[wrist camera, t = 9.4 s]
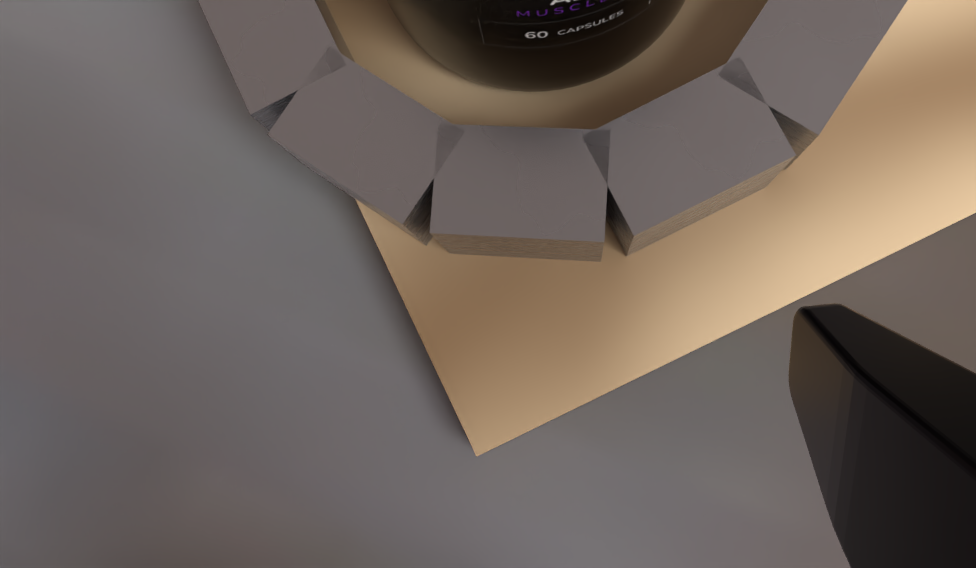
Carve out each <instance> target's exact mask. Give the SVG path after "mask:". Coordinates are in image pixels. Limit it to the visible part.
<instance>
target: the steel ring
mask: <svg viewBox="0 0 976 568" xmlns="http://www.w3.org/2000/svg"><path fill="white" fill-rule="evenodd" d="M907 1H908V0H768V1H767V3H766V4H765V6H764V7H763V9H762V10H761V12H760V13H759V15H758V16H757V18H756V19H755V21H754V22H753V24H752V25H751V27H750V28H749V30H748V31H747V33H746V34H745V36H744V37H743V39H742V40H741V42H740V43H739V45H738V46H737V48H736V49H735V51H734V52H733V54H732V55H731V57H730V58H729V60H728V61H727V63H726V64H724V65H722V66H720V67H718V68H716V69H714V70H712V71H710V72H708V73H706V74H704V75H702V76H700V77H698V78H696V79H694V80H692V81H690V82H688V83H686V84H684V85H682V86H680V87H678V88H676V89H674V90H672V91H670V92H668V93H667V94H665V95H663V96H661V97H659V98H657V99H655V100H653V101H651V102H649V103H647V104H645V105H643V106H641V107H639V108H637V109H635V110H633V111H631V112H629V113H627V114H625V115H623V116H621V117H619V118H617V119H615V120H613V121H611V122H609V123H607V124H605V125H603V126H601V127H599V128H597V129H569V128H542V127H514V126H487V125H459V124H452V123H450V122H448V121H447V120H445V119H444V118H442V117H441V116H439V115H437V114H436V113H434V112H433V111H431V110H429V109H428V108H426V107H425V106H423V105H422V104H420V103H418V102H417V101H415V100H414V99H412V98H410V97H409V96H407V95H406V94H404V93H403V92H401V91H399V90H398V89H396V88H395V87H393V86H391V85H390V84H388V83H387V82H385V81H384V80H382V79H380V78H379V77H377V76H376V75H374V74H372V73H371V72H369V71H368V70H366V69H365V68H363V67H361V66H360V65H358V64H357V63H355V61H354V59H353V57H352V55H351V53H350V51H349V49H348V47H347V45H346V43H345V41H344V39H343V37H342V34H341V32H340V30H339V28H338V26H337V24H336V22H335V20H334V18H333V16H332V14H331V12H330V10H329V8H328V6H327V4H326V2H325V0H198V2H199V4H200V6H201V8H202V10H203V13H204V15H205V17H206V19H207V21H208V24H209V26H210V28H211V30H212V32H213V35H214V37H215V39H216V41H217V43H218V45H219V48H220V50H221V52H222V54H223V56H224V59H225V61H226V63H227V65H228V67H229V69H230V72H231V74H232V76H233V78H234V80H235V83H236V85H237V87H238V89H239V91H240V94H241V96H242V98H243V100H244V102H245V104H246V107H247V109H248V111H249V113H250V115H251V116H252V117H254V118H255V119H256V120H257V121H258V122H260V123H261V124H262V125H263V126H265V127H266V128H267V129H268V130H269V131H270V132H269V133H268V134H267V135H268V136H269V137H271V138H272V139H273V140H274V141H276V142H277V143H278V144H279V145H281V146H282V147H283V148H284V149H286V150H287V151H288V152H289V153H291V154H292V155H293V156H294V157H296V158H297V159H298V160H299V161H301V162H302V163H303V164H304V165H306V166H307V167H308V168H310V169H311V170H313V171H314V172H316V173H317V174H319V175H320V176H322V177H323V178H325V179H326V180H328V181H329V182H331V183H332V184H334V185H335V186H337V187H338V188H340V189H341V190H343V191H344V192H346V193H347V194H349V195H350V196H352V197H353V198H355V199H356V200H358V201H359V202H361V203H362V204H364V205H365V206H367V207H368V208H370V209H371V210H373V211H374V212H376V213H377V214H379V215H380V216H382V217H383V218H385V219H387V220H388V221H390V222H391V223H393V224H394V225H396V226H397V227H399V228H400V229H402V230H403V231H405V232H406V233H408V234H409V235H411V236H412V237H414V238H415V239H417V240H418V241H420V242H421V243H423V244H424V245H426V246H427V245H428V243H429V242H430V240H431V239H432V237H434V238H435V239H436V240H437V241H438V242H439V243H440V244H441V245H442V246H443V247H444V248H445V249H446V250H447V251H448V252H449V253H450V254H463V255H482V256H500V257H519V258H537V259H556V260H574V261H592V262H601V259H602V253H603V247H604V239H605V221H606V218H607V220H608V222H609V224H610V226H611V228H612V230H613V232H614V234H615V236H616V238H617V239H618V241H619V243H620V245H621V247H622V249H623V251H624V253H625V255H626V257H627V256H629V255H631V254H633V253H635V252H637V251H639V250H641V249H643V248H645V247H647V246H649V245H651V244H653V243H655V242H657V241H659V240H661V239H663V238H665V237H667V236H669V235H671V234H673V233H675V232H677V231H679V230H681V229H683V228H685V227H687V226H689V225H691V224H693V223H695V222H697V221H699V220H701V219H703V218H705V217H707V216H709V215H712V214H714V213H716V212H718V211H720V210H722V209H724V208H726V207H728V206H730V205H732V204H734V203H736V202H738V201H740V200H742V199H744V198H746V197H748V196H750V195H752V194H754V193H756V192H758V191H760V190H762V189H764V188H766V187H767V186H768V185H769V184H770V183H771V181H772V180H773V179H774V178H775V177H776V176H777V175H778V174H779V173H780V172H781V171H782V170H783V169H784V170H786V169H787V168H788V167H789V166H790V165H791V164H792V163H793V162H794V161H795V160H796V159H797V158H798V157H799V156H800V155H801V153H802V152H803V151H804V150H805V149H806V148H807V147H808V146H809V145H810V144H811V143H812V142H813V141H814V140H815V139H816V138H817V137H818V136H819V134H820V133H821V131H822V130H823V128H824V127H825V125H826V124H827V122H828V121H829V119H830V118H831V116H832V115H833V113H834V112H835V110H836V108H837V107H838V105H839V104H840V102H841V101H842V99H843V98H844V96H845V95H846V93H847V92H848V90H849V89H850V87H851V86H852V84H853V83H854V81H855V80H856V78H857V77H858V75H859V74H860V72H861V70H862V69H863V67H864V66H865V64H866V63H867V61H868V60H869V58H870V57H871V55H872V54H873V52H874V51H875V49H876V48H877V46H878V45H879V43H880V42H881V40H882V39H883V37H884V36H885V34H886V33H887V31H888V29H889V28H890V26H891V25H892V23H893V22H894V20H895V19H896V17H897V16H898V14H899V13H900V11H901V10H902V8H903V7H904V5H905V4H906V2H907Z"/></svg>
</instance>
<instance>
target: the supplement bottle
mask: <svg viewBox="0 0 976 568" xmlns="http://www.w3.org/2000/svg"><path fill="white" fill-rule="evenodd" d="M387 2H388V4H389V6H390V8H391V9H392V11H393V13H394V15H395V16H396V18H397V19H398V21H399V22H400V24H401V25H402V27H403V28H404V29H405V31H406V32H407V33H408V34H409V36H410V37H411V38H412V39H413V40H414V42H415V43H416V44H417V45H418V46H419V47H420V48H422V49H423V50H424V51H425V52H426V53H427V54H428V55H429V56H431V57H432V58H433V59H435V60H436V61H437V62H438V63H440V64H442V65H443V66H445V67H446V68H448V69H450V70H451V71H453V72H455V73H457V74H459V75H461V76H463V77H465V78H467V79H470V80H472V81H475V82H478V83H480V84H484V85H487V86H491V87H495V88H499V89H505V90H511V91H523V92H545V91H553V90H561V89H566V88H571V87H575V86H579V85H582V84H585V83H588V82H592V81H594V80H596V79H599V78H601V77H604V76H606V75H608V74H610V73H612V72H614V71H616V70H617V69H619V68H621V67H623V66H624V65H626V64H627V63H629V62H630V61H632V60H633V59H635V58H636V57H637V56H639V55H640V54H641V53H642V52H644V51H645V50H646V49H647V48H649V47H650V46H651V45H652V44H653V43H654V42H655V41H656V40H657V39H658V38H659V37H660V36H661V35H662V34H663V32H664V31H665V30H666V29H667V28H668V26H669V25H670V24H671V23H672V21H673V20H674V18H675V17H676V15H677V14H678V12H679V11H680V9H681V8H682V6H683V4H684V2H685V0H387Z"/></svg>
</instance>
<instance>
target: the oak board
mask: <svg viewBox="0 0 976 568" xmlns="http://www.w3.org/2000/svg"><path fill="white" fill-rule="evenodd" d="M767 1H768V0H685V2H684V4H683V6H682V8H681V9H680V11H679V12H678V14H677V15H676V17H675V18H674V20H673V21H672V23H671V24H670V25H669V26H668V28H667V29H666V30H665V31H664V32H663V34H662V35H661V36H660V37H659V38H658V39H657V40H656V41H655V42H654V43H653V44H652V45H651V46H650V47H649V48H647V49H646V50H645V51H644V52H642V53H641V54H640V55H639V56H637V57H636V58H635V59H633V60H632V61H630V62H629V63H627V64H626V65H624V66H623V67H621V68H619V69H617V70H616V71H614V72H612V73H610V74H608V75H606V76H604V77H601V78H599V79H596V80H594V81H592V82H588V83H585V84H582V85H579V86H575V87H571V88H566V89H561V90H553V91H545V92H523V91H511V90H505V89H499V88H495V87H491V86H487V85H484V84H480V83H478V82H475V81H472V80H470V79H467V78H465V77H463V76H461V75H459V74H457V73H455V72H453V71H451V70H450V69H448V68H446V67H445V66H443V65H442V64H440V63H438V62H437V61H436V60H435V59H433V58H432V57H431V56H429V55H428V54H427V53H426V52H425V51H424V50H423V49H422V48H420V47H419V46H418V45H417V44H416V43H415V42H414V40H413V39H412V38H411V37H410V36H409V34H408V33H407V32H406V31H405V29H404V28H403V27H402V25H401V24H400V22H399V21H398V19H397V18H396V16H395V15H394V13H393V11H392V9H391V8H390V6H389V4H388V2H387V0H325V2H326V4H327V6H328V8H329V10H330V12H331V14H332V16H333V18H334V20H335V22H336V24H337V26H338V28H339V30H340V32H341V34H342V37H343V39H344V41H345V43H346V45H347V47H348V49H349V51H350V53H351V55H352V57H353V59H354V61H355V63H357V64H358V65H360V66H361V67H363V68H365V69H366V70H368V71H369V72H371V73H372V74H374V75H376V76H377V77H379V78H380V79H382V80H384V81H385V82H387V83H388V84H390V85H391V86H393V87H395V88H396V89H398V90H399V91H401V92H403V93H404V94H406V95H407V96H409V97H410V98H412V99H414V100H415V101H417V102H418V103H420V104H422V105H423V106H425V107H426V108H428V109H429V110H431V111H433V112H434V113H436V114H437V115H439V116H441V117H442V118H444V119H445V120H447V121H448V122H450V123H452V124H459V125H487V126H514V127H542V128H569V129H597V128H599V127H601V126H603V125H605V124H607V123H609V122H611V121H613V120H615V119H617V118H619V117H621V116H623V115H625V114H627V113H629V112H631V111H633V110H635V109H637V108H639V107H641V106H643V105H645V104H647V103H649V102H651V101H653V100H655V99H657V98H659V97H661V96H663V95H665V94H667V93H668V92H670V91H672V90H674V89H676V88H678V87H680V86H682V85H684V84H686V83H688V82H690V81H692V80H694V79H696V78H698V77H700V76H702V75H704V74H706V73H708V72H710V71H712V70H714V69H716V68H718V67H720V66H722V65H724V64H726V63H727V61H728V60H729V58H730V57H731V55H732V54H733V52H734V51H735V49H736V48H737V46H738V45H739V43H740V42H741V40H742V39H743V37H744V36H745V34H746V33H747V31H748V30H749V28H750V27H751V25H752V24H753V22H754V21H755V19H756V18H757V16H758V15H759V13H760V12H761V10H762V9H763V7H764V6H765V4H766V3H767ZM355 200H356V199H355ZM356 202H357V204H358V206H359V208H360V210H361V212H362V214H363V217H364V219H365V221H366V223H367V225H368V227H369V229H370V231H371V234H372V236H373V238H374V240H375V242H376V244H377V246H378V248H379V251H380V253H381V255H382V257H383V259H384V261H385V263H386V265H387V268H388V270H389V272H390V274H391V276H392V278H393V280H394V282H395V285H396V287H397V289H398V291H399V293H400V295H401V297H402V299H403V301H404V304H405V306H406V308H407V310H408V312H409V314H410V316H411V318H412V321H413V323H414V325H415V327H416V329H417V331H418V333H419V335H420V338H421V340H422V342H423V344H424V346H425V348H426V350H427V352H428V355H429V357H430V359H431V361H432V363H433V365H434V367H435V369H436V372H437V374H438V376H439V378H440V380H441V382H442V384H443V386H444V389H445V391H446V393H447V395H448V397H449V399H450V401H451V403H452V405H453V408H454V410H455V412H456V414H457V416H458V418H459V420H460V422H461V425H462V427H463V429H464V431H465V433H466V435H467V437H468V439H469V442H470V444H471V446H472V448H473V450H474V452H475V454H476V456H479V455H481V454H483V453H485V452H487V451H489V450H491V449H493V448H495V447H497V446H499V445H501V444H503V443H505V442H507V441H510V440H512V439H514V438H516V437H518V436H520V435H522V434H524V433H526V432H528V431H530V430H532V429H534V428H536V427H538V426H540V425H542V424H544V423H546V422H548V421H550V420H552V419H555V418H557V417H559V416H561V415H563V414H565V413H567V412H569V411H571V410H573V409H575V408H577V407H579V406H581V405H583V404H585V403H587V402H589V401H591V400H593V399H595V398H597V397H600V396H602V395H604V394H606V393H608V392H610V391H612V390H614V389H616V388H618V387H620V386H622V385H624V384H626V383H628V382H630V381H632V380H634V379H636V378H638V377H640V376H642V375H645V374H647V373H649V372H651V371H653V370H655V369H657V368H659V367H661V366H663V365H665V364H667V363H669V362H671V361H673V360H675V359H677V358H679V357H681V356H683V355H685V354H687V353H689V352H692V351H694V350H696V349H698V348H700V347H702V346H704V345H706V344H708V343H710V342H712V341H714V340H716V339H718V338H720V337H722V336H724V335H726V334H728V333H730V332H732V331H734V330H737V329H739V328H741V327H743V326H745V325H747V324H749V323H751V322H753V321H755V320H757V319H759V318H761V317H763V316H765V315H767V314H769V313H771V312H773V311H775V310H777V309H779V308H782V307H784V306H786V305H788V304H790V303H792V302H794V301H796V300H798V299H800V298H802V297H804V296H806V295H808V294H810V293H812V292H814V291H816V290H818V289H820V288H822V287H824V286H826V285H829V284H831V283H833V282H835V281H837V280H839V279H841V278H843V277H845V276H847V275H849V274H851V273H853V272H855V271H857V270H859V269H861V268H863V267H865V266H867V265H869V264H871V263H874V262H876V261H878V260H880V259H882V258H884V257H886V256H888V255H890V254H892V253H894V252H896V251H898V250H900V249H902V248H904V247H906V246H908V245H910V244H912V243H914V242H916V241H919V240H921V239H923V238H925V237H927V236H929V235H931V234H933V233H935V232H937V231H939V230H941V229H943V228H945V227H947V226H949V225H951V224H953V223H955V222H957V221H959V220H961V219H964V218H966V217H968V216H970V215H972V214H974V213H976V0H908V1H907V2H906V4H905V5H904V7H903V8H902V10H901V11H900V13H899V14H898V16H897V17H896V19H895V20H894V22H893V23H892V25H891V26H890V28H889V29H888V31H887V33H886V34H885V36H884V37H883V39H882V40H881V42H880V43H879V45H878V46H877V48H876V49H875V51H874V52H873V54H872V55H871V57H870V58H869V60H868V61H867V63H866V64H865V66H864V67H863V69H862V70H861V72H860V74H859V75H858V77H857V78H856V80H855V81H854V83H853V84H852V86H851V87H850V89H849V90H848V92H847V93H846V95H845V96H844V98H843V99H842V101H841V102H840V104H839V105H838V107H837V108H836V110H835V112H834V113H833V115H832V116H831V118H830V119H829V121H828V122H827V124H826V125H825V127H824V128H823V130H822V131H821V133H820V134H819V136H818V137H817V138H816V139H815V140H814V141H813V142H812V143H811V144H810V145H809V146H808V147H807V148H806V149H805V150H804V151H803V152H802V153H801V155H800V156H799V157H798V158H797V159H796V160H795V161H794V162H793V163H792V164H791V165H790V166H789V167H788V168H787V169H786V170H784V169H783V170H782V171H781V172H780V173H779V174H778V175H777V176H776V177H775V178H774V179H773V180H772V181H771V183H770V184H769V185H768V186H767V187H766V188H764V189H762V190H760V191H758V192H756V193H754V194H752V195H750V196H748V197H746V198H744V199H742V200H740V201H738V202H736V203H734V204H732V205H730V206H728V207H726V208H724V209H722V210H720V211H718V212H716V213H714V214H712V215H709V216H707V217H705V218H703V219H701V220H699V221H697V222H695V223H693V224H691V225H689V226H687V227H685V228H683V229H681V230H679V231H677V232H675V233H673V234H671V235H669V236H667V237H665V238H663V239H661V240H659V241H657V242H655V243H653V244H651V245H649V246H647V247H645V248H643V249H641V250H639V251H637V252H635V253H633V254H631V255H629V256H627V257H626V255H625V253H624V251H623V249H622V247H621V245H620V243H619V241H618V239H617V238H616V236H615V234H614V232H613V230H612V228H611V226H610V224H609V222H608V220H607V218H606V221H605V239H604V247H603V253H602V259H601V262H592V261H574V260H556V259H537V258H519V257H500V256H482V255H463V254H450V253H449V252H448V251H447V250H446V249H445V248H444V247H443V246H442V245H441V244H440V243H439V242H438V241H437V240H436V239H435V238H434V237H432V239H431V240H430V242H429V243H428V245H427V246H426V245H424V244H423V243H421V242H420V241H418V240H417V239H415V238H414V237H412V236H411V235H409V234H408V233H406V232H405V231H403V230H402V229H400V228H399V227H397V226H396V225H394V224H393V223H391V222H390V221H388V220H387V219H385V218H383V217H382V216H380V215H379V214H377V213H376V212H374V211H373V210H371V209H370V208H368V207H367V206H365V205H364V204H362V203H361V202H359V201H358V200H356Z"/></svg>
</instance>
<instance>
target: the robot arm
mask: <svg viewBox="0 0 976 568" xmlns="http://www.w3.org/2000/svg"><path fill="white" fill-rule="evenodd" d="M789 387H790V393H791V397H792V400H793V404H794V407H795V410H796V413H797V416H798V419H799V423H800V426H801V429H802V432H803V435H804V438H805V441H806V445H807V448H808V451H809V454H810V457H811V460H812V463H813V467H814V470H815V473H816V476H817V479H818V482H819V486H820V489H821V492H822V495H823V498H824V501H825V504H826V507H827V510H828V513H829V516H830V519H831V522H832V525H833V528H834V530H835V532H836V535H837V537H838V540H839V542H840V544H841V547H842V549H843V551H844V554H845V556H846V558H847V560H848V562H849V564H850V567H851V568H976V373H974V372H972V371H970V370H968V369H966V368H964V367H963V366H961V365H959V364H957V363H955V362H953V361H951V360H949V359H947V358H945V357H943V356H941V355H939V354H937V353H935V352H933V351H932V350H930V349H928V348H926V347H924V346H922V345H920V344H918V343H916V342H914V341H912V340H910V339H908V338H906V337H904V336H902V335H900V334H899V333H897V332H895V331H893V330H891V329H889V328H887V327H885V326H883V325H881V324H879V323H877V322H875V321H873V320H871V319H869V318H868V317H866V316H864V315H862V314H860V313H858V312H856V311H854V310H852V309H850V308H848V307H846V306H844V305H842V304H836V303H834V304H824V305H815V306H805V307H801V308H800V309H799V310H798V311H797V312H796V314H795V316H794V320H793V329H792V341H791V352H790V363H789Z"/></svg>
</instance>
